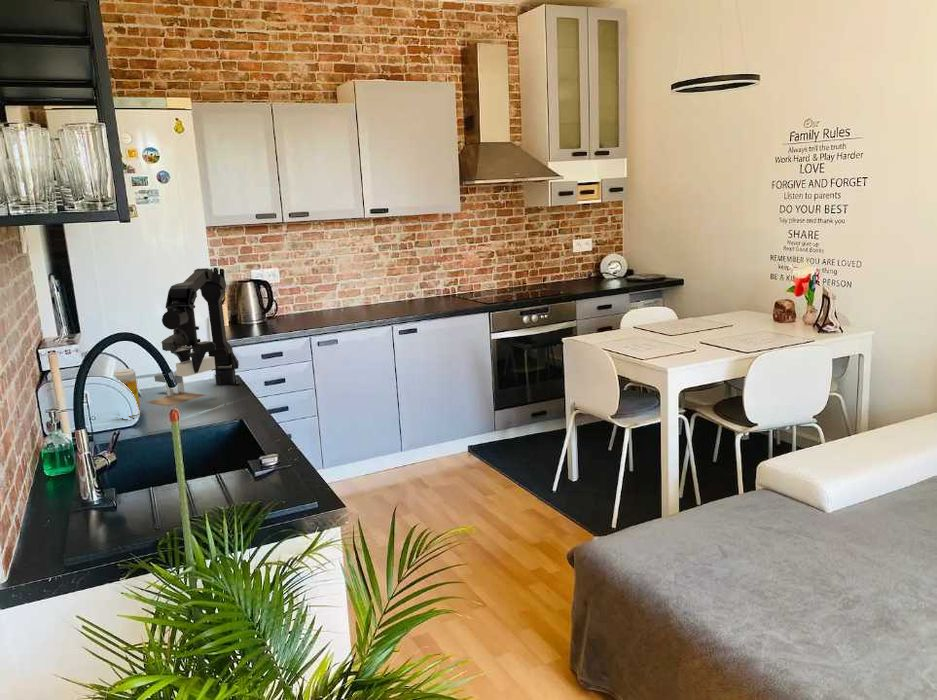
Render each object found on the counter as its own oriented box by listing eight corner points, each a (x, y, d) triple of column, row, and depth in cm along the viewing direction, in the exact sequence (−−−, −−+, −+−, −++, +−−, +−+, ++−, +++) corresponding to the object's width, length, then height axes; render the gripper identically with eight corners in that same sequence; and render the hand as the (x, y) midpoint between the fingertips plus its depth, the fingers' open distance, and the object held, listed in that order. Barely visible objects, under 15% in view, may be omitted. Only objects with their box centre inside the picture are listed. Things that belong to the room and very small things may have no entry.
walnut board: (182, 394, 257) (182, 391, 257) (206, 397, 251) (206, 394, 251) (145, 405, 244) (144, 402, 244) (169, 409, 239) (169, 406, 238)
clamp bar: (160, 379, 258) (160, 374, 257) (182, 382, 252) (181, 376, 252) (155, 381, 256) (154, 375, 255) (176, 383, 250) (175, 378, 250)
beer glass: (119, 421, 227) (112, 373, 224) (120, 416, 232) (113, 369, 230) (140, 418, 229) (134, 371, 226) (141, 413, 235) (135, 367, 232)
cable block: (207, 368, 246) (205, 356, 245) (215, 368, 244) (214, 356, 243) (177, 375, 236) (175, 363, 235) (185, 376, 234) (184, 364, 233)
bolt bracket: (181, 392, 256) (178, 371, 255) (184, 392, 256) (182, 371, 254) (167, 396, 251) (164, 375, 250) (170, 396, 251) (168, 375, 249)
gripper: (144, 327, 233) (151, 375, 236) (185, 329, 224) (191, 380, 227) (174, 321, 242) (180, 368, 245) (214, 324, 233) (219, 372, 236)
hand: (191, 372), depth 238 cm, fingers closed on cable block, 4 cm apart
